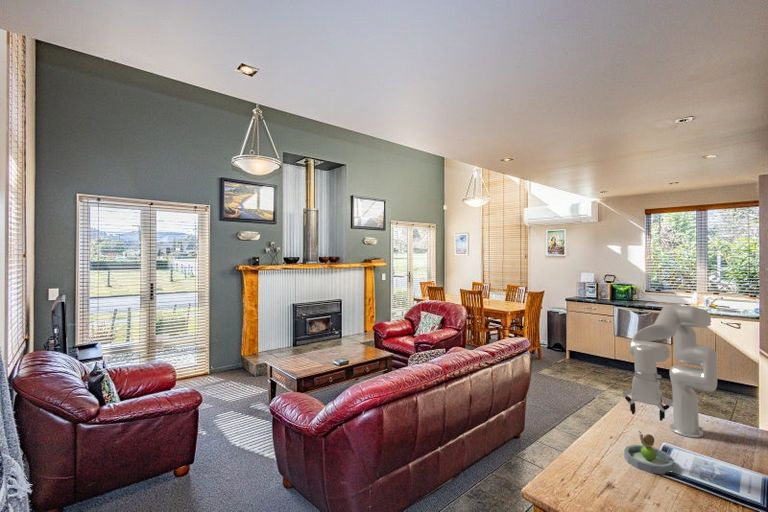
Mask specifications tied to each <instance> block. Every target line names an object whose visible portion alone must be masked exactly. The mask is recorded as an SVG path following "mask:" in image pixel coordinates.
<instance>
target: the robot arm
mask: <svg viewBox="0 0 768 512" xmlns="http://www.w3.org/2000/svg"><path fill="white" fill-rule="evenodd" d="M711 320H712V319H711V314H710V312H709V311H708V310H706V309H704V308H700V307H696V306H690V305H677V304H668V305H664V307H662V308H661V310H660V312H659V314H658V316H657V317H656V319H655V321H654V323H652V324H650V325H648V326H645V327H644V328H641V329H640V330H637V331H636V333H635V334H634V335H633V336H632V339H631V340H630V342H629V346H628V350H629V353H630V355H632V356H633V359H634V360H633V361H634V376H633V378H632V382H631V389H627V390H623V391H622V395H623V397H624V399H625V400H626V401H627V402H628V404H629V406H630V407H629V411H630V412H631V415H635V413H636V402H638V403H642V404H647V405H650V406H651V405H652V406H655V407H657V408H658V409H659V413H658V414H659V421H661V422H663V420H664V419H665V418H666V415H665V413H666V412H665V411H667V410H668V409H670V407H671V406H672V411H673V413H672V417H673V423H671V424H670V425H669V429H670V430H671V432H673V433H675V434H678V435H680V436H683V437H687V438H702V437H703V436H704V431H703V430H702V429H700V425H699V424H700V423H699V421H700V419H699V398H698V394H697V393H696V391H695V390H699V391H700V390H701V391H705V392H714V391H716V389H717V387H718V354H717V352H716V350H715V349H714V348H713V347H711V346H707V345H700V344H699V345H698V344H697V334H696V331H695V330H694V328H700V329H705V328H708V327H709V326H710V324H711ZM670 338H673V357H674V359H675V360H676V361H677V362H679V363H683V364H688V365H693V366H699V367H701V368H699V367H698V368H697V367H693V366H688V365H682V364H681V365H680V364H676V365H673V366H671V367H670V369H669V377H670V382H671V389H672V391H671V392H672V400H671V399H670V398H668V397H666V396H664V395H663V391H662V385H661V382H660V380H659V379H662V375H661V374H658V371H657V369H658V368H657V363H663V362H665V361H667V360H668V359H669V358H670V356H671V350H670V347H669V346H667V344H666V345H665V344H662V343H659V342H653V341H659V340H660V341H661V340H667V339H670ZM629 394H630V395H631V397H630V396H629ZM663 401H664V402H666V404H665V405H664V404H663V403H662V402H663Z"/></svg>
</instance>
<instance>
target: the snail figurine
mask: <svg viewBox="0 0 768 512" xmlns="http://www.w3.org/2000/svg"><path fill="white" fill-rule="evenodd" d="M638 435H639V439H640V443H641V444H642V445H644V446H643V447H642V448H641V454H642V456H643V457H644V458H645V459H647V460H654V459H655V458H656V456H657V454H656V451H655V450H654V448H655V447H653V446H654V445H655V437H654V436H653V435H652V434H649V433H648V434H645V435H644V434H643V433H642V431H640V430H638ZM652 447H653V448H652Z"/></svg>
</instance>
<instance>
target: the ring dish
mask: <svg viewBox="0 0 768 512" xmlns="http://www.w3.org/2000/svg"><path fill="white" fill-rule="evenodd" d="M643 446H644V445H643V444H642V445H641V444H633V445H632V444H631V445H627V446H626V447H625V448H624V450H623V454H624V455H623V456H624V459H625V461H626V462H627V463H628V464H629V465H631V466H633V467H634V468H636V469H638V470H641V471H643V472H647V473H649V474H657V475H658V474H659V475H666V474H665V473H666V472H669V471H672V470H673V471H674V469H673V467H674V468H675V460H674V459H673V457H672V456H671V455H670V454H669V453H667V452H665V451H663V450H661V449H659V448H656V447H653V446H652V448H654V450H655V451H656V454H657V456H656V458H655V459H654V460H647V459H645V458H644V457H643V456H642V454H641V448H642V447H643ZM661 457H662V458H661ZM663 458H664V459H663ZM665 459H666V461H665Z"/></svg>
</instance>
